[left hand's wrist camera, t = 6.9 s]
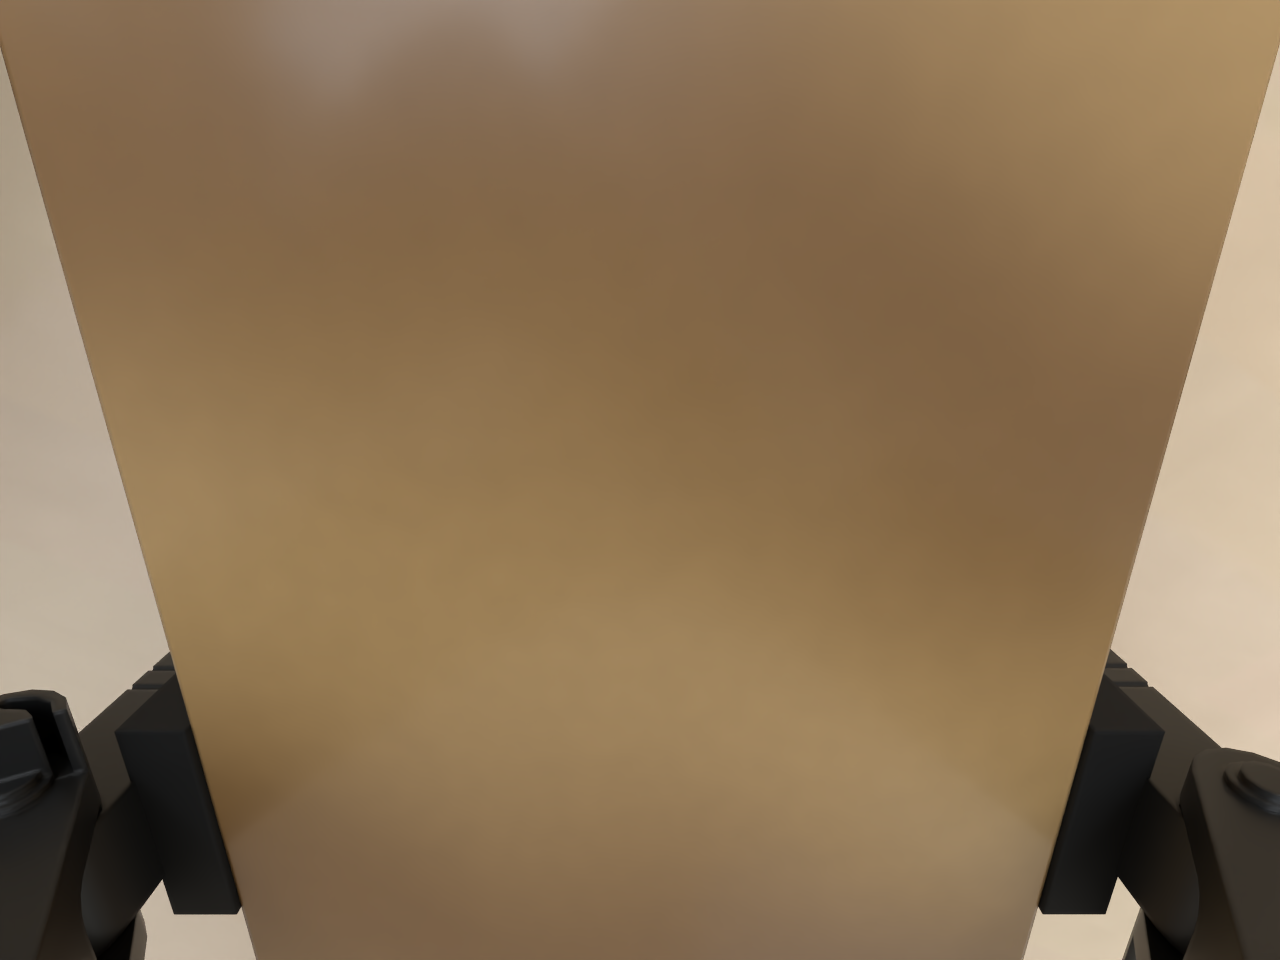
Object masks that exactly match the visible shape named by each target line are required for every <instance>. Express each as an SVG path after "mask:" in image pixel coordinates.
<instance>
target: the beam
mask: <svg viewBox="0 0 1280 960" xmlns="http://www.w3.org/2000/svg"><path fill="white" fill-rule="evenodd" d="M1279 44H1280V0H0V47H1V51H2V54H3V58H4V61H5V65H6V69H7V72H8V76H9V79H10V83H11V86H12V90H13V94H14V97H15V101H16V104H17V108H18V111H19V115H20V118H21V122H22V126H23V129H24V133H25V136H26V140H27V143H28V147H29V151H30V154H31V158H32V161H33V165H34V168H35V172H36V176H37V179H38V183H39V186H40V190H41V193H42V197H43V200H44V204H45V208H46V211H47V215H48V218H49V222H50V225H51V229H52V233H53V236H54V240H55V243H56V247H57V250H58V254H59V258H60V261H61V265H62V268H63V272H64V275H65V279H66V283H67V286H68V290H69V293H70V297H71V300H72V304H73V307H74V311H75V315H76V318H77V322H78V325H79V329H80V332H81V336H82V340H83V343H84V347H85V350H86V354H87V357H88V361H89V365H90V368H91V372H92V375H93V379H94V382H95V386H96V389H97V393H98V397H99V400H100V404H101V407H102V411H103V414H104V418H105V422H106V425H107V429H108V432H109V436H110V439H111V443H112V447H113V450H114V454H115V457H116V461H117V464H118V468H119V471H120V475H121V479H122V482H123V486H124V489H125V493H126V496H127V500H128V504H129V507H130V511H131V514H132V518H133V521H134V525H135V529H136V532H137V536H138V539H139V543H140V546H141V550H142V553H143V557H144V561H145V564H146V568H147V571H148V575H149V578H150V582H151V586H152V589H153V593H154V596H155V600H156V603H157V607H158V611H159V614H160V618H161V621H162V625H163V628H164V632H165V635H166V639H167V643H168V646H169V650H170V653H171V657H172V660H173V664H174V668H175V671H176V675H177V678H178V682H179V685H180V689H181V693H182V696H183V700H184V703H185V707H186V710H187V714H188V717H189V721H190V725H191V728H192V732H193V735H194V739H195V742H196V746H197V750H198V753H199V757H200V760H201V764H202V767H203V771H204V775H205V778H206V782H207V785H208V789H209V792H210V796H211V799H212V803H213V807H214V810H215V814H216V817H217V821H218V824H219V828H220V832H221V835H222V839H223V842H224V846H225V849H226V853H227V857H228V860H229V864H230V867H231V871H232V874H233V878H234V881H235V885H236V889H237V892H238V896H239V899H240V903H241V906H242V910H243V914H244V917H245V921H246V924H247V928H248V931H249V935H250V939H251V942H252V946H253V949H254V953H255V956H256V960H1023V958H1024V955H1025V951H1026V948H1027V944H1028V940H1029V937H1030V933H1031V930H1032V926H1033V923H1034V919H1035V915H1036V912H1037V908H1038V905H1039V901H1040V898H1041V894H1042V890H1043V887H1044V883H1045V880H1046V876H1047V873H1048V869H1049V865H1050V862H1051V858H1052V855H1053V851H1054V848H1055V844H1056V840H1057V837H1058V833H1059V830H1060V826H1061V823H1062V819H1063V815H1064V812H1065V808H1066V805H1067V801H1068V798H1069V794H1070V790H1071V787H1072V783H1073V780H1074V776H1075V773H1076V769H1077V765H1078V762H1079V758H1080V755H1081V751H1082V748H1083V744H1084V740H1085V737H1086V733H1087V730H1088V726H1089V723H1090V719H1091V715H1092V712H1093V708H1094V705H1095V701H1096V698H1097V694H1098V690H1099V687H1100V683H1101V680H1102V676H1103V673H1104V669H1105V665H1106V662H1107V658H1108V655H1109V651H1110V648H1111V644H1112V640H1113V637H1114V633H1115V630H1116V626H1117V623H1118V619H1119V615H1120V612H1121V608H1122V605H1123V601H1124V598H1125V594H1126V590H1127V587H1128V583H1129V580H1130V576H1131V573H1132V569H1133V565H1134V562H1135V558H1136V555H1137V551H1138V548H1139V544H1140V540H1141V537H1142V533H1143V530H1144V526H1145V523H1146V519H1147V515H1148V512H1149V508H1150V505H1151V501H1152V498H1153V494H1154V490H1155V487H1156V483H1157V480H1158V476H1159V473H1160V469H1161V465H1162V462H1163V458H1164V455H1165V451H1166V448H1167V444H1168V440H1169V437H1170V433H1171V430H1172V426H1173V423H1174V419H1175V415H1176V412H1177V408H1178V405H1179V401H1180V398H1181V394H1182V390H1183V387H1184V383H1185V380H1186V376H1187V373H1188V369H1189V365H1190V362H1191V358H1192V355H1193V351H1194V348H1195V344H1196V340H1197V337H1198V333H1199V330H1200V326H1201V323H1202V319H1203V315H1204V312H1205V308H1206V305H1207V301H1208V298H1209V294H1210V290H1211V287H1212V283H1213V280H1214V276H1215V273H1216V269H1217V265H1218V262H1219V258H1220V255H1221V251H1222V248H1223V244H1224V240H1225V237H1226V233H1227V230H1228V226H1229V223H1230V219H1231V215H1232V212H1233V208H1234V205H1235V201H1236V198H1237V194H1238V190H1239V187H1240V183H1241V180H1242V176H1243V173H1244V169H1245V165H1246V162H1247V158H1248V155H1249V151H1250V148H1251V144H1252V140H1253V137H1254V133H1255V130H1256V126H1257V123H1258V119H1259V115H1260V112H1261V108H1262V105H1263V101H1264V98H1265V94H1266V90H1267V87H1268V83H1269V80H1270V76H1271V73H1272V69H1273V65H1274V62H1275V58H1276V55H1277V51H1278V48H1279Z"/></svg>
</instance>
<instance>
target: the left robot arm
mask: <svg viewBox="0 0 1280 960" xmlns="http://www.w3.org/2000/svg"><path fill="white" fill-rule="evenodd" d="M1117 877H1119V879H1120V880H1121V881H1122V883H1123V884H1124V885H1125V887H1126V888H1127V889H1128V891H1129V892H1130V893H1131V895H1132V896H1133V898H1134V899H1135V900H1136V902H1137V903H1138V904H1139V906H1140V907H1141V908H1140V910H1139V913H1138V916H1137V919H1136V922H1135V925H1134V927H1133V930H1132V933H1131V936H1130V939H1129V942H1128V945H1127V947H1126V950H1125V953H1124V956H1123V959H1122V960H1280V762H1278V761H1275V760H1272V759H1269V758H1266V757H1264V756H1261V755H1258V754H1255V753H1252V752H1246V751H1241V750H1235V749H1230V748H1221V747H1220V746H1219V745H1218V744H1217V743H1215V742H1214V741H1213V740H1212V739H1211V738H1210V737H1209V736H1208V735H1206V734H1205V733H1204V732H1203V731H1202V730H1201V729H1200V728H1199V727H1197V726H1196V725H1195V724H1194V723H1193V722H1192V721H1191V720H1190V719H1188V718H1187V717H1186V716H1185V715H1184V714H1183V713H1182V712H1181V711H1179V710H1178V709H1177V708H1176V707H1175V706H1174V705H1173V704H1172V703H1170V702H1169V701H1168V700H1167V699H1166V698H1165V697H1164V696H1163V695H1161V694H1160V693H1159V692H1158V691H1157V690H1156V689H1155V688H1154V687H1148V684H1147V681H1146V680H1145V679H1143V678H1142V677H1141V676H1140V675H1139V674H1138V673H1137V672H1136V671H1134V670H1133V669H1132V668H1127V663H1125V662H1124V661H1123V660H1122V659H1121V658H1120V657H1119V656H1118V655H1116V654H1115V653H1114V652H1113V651H1112V650H1111V649H1110V651H1109V655H1108V658H1107V662H1106V665H1105V669H1104V673H1103V676H1102V680H1101V683H1100V687H1099V690H1098V694H1097V698H1096V701H1095V705H1094V708H1093V712H1092V715H1091V719H1090V723H1089V726H1088V730H1087V733H1086V737H1085V740H1084V744H1083V748H1082V751H1081V755H1080V758H1079V762H1078V765H1077V769H1076V773H1075V776H1074V780H1073V783H1072V787H1071V790H1070V794H1069V798H1068V801H1067V805H1066V808H1065V812H1064V815H1063V819H1062V823H1061V826H1060V830H1059V833H1058V837H1057V840H1056V844H1055V848H1054V851H1053V855H1052V858H1051V862H1050V865H1049V869H1048V873H1047V876H1046V880H1045V883H1044V887H1043V890H1042V894H1041V898H1040V901H1039V905H1038V907H1039V908H1040V910H1041V912H1042V914H1106V911H1107V908H1108V905H1109V902H1110V899H1111V896H1112V893H1113V890H1114V887H1115V883H1116V880H1117ZM162 879H163V882H164V885H165V888H166V891H167V894H168V897H169V900H170V904H171V907H172V910H173V913H174V914H237V913H238V911H239V910H240V908H241V903H240V899H239V896H238V892H237V889H236V885H235V881H234V878H233V874H232V871H231V867H230V864H229V860H228V857H227V853H226V849H225V846H224V842H223V839H222V835H221V832H220V828H219V824H218V821H217V817H216V814H215V810H214V807H213V803H212V799H211V796H210V792H209V789H208V785H207V782H206V778H205V775H204V771H203V767H202V764H201V760H200V757H199V753H198V750H197V746H196V742H195V739H194V735H193V732H192V728H191V725H190V721H189V717H188V714H187V710H186V707H185V703H184V700H183V696H182V693H181V689H180V685H179V682H178V678H177V675H176V671H175V668H174V664H173V660H172V657H171V653H170V652H169V653H168V654H167V655H165V656H164V657H163V658H162V659H161V660H160V661H159V662H158V663H157V664H155V665H154V666H153V671H148V672H146V673H145V674H144V675H143V676H142V677H141V678H140V679H139V680H138V681H136V682H135V683H134V684H133V688H132V690H126V691H125V692H124V693H123V694H122V695H121V696H120V697H119V698H117V699H116V700H115V701H114V702H113V703H112V704H111V705H110V706H108V707H107V708H106V709H105V710H104V711H103V712H102V713H101V714H100V715H98V716H97V717H96V718H95V719H94V720H93V721H92V722H91V723H89V724H88V725H87V726H86V727H85V728H84V729H83V730H82V731H80V732H79V733H78V731H77V728H76V725H75V722H74V720H73V717H72V714H71V711H70V708H69V705H68V703H67V700H66V697H64V696H62V695H60V694H58V693H57V692H55V691H48V690H27V691H21V692H14V693H8V694H3V695H0V960H144V957H145V949H146V942H147V933H146V927H145V922H144V919H143V916H142V913H141V910H140V909H141V908H142V906H143V905H144V903H145V902H146V901H147V899H148V898H149V897H150V895H151V894H152V893H153V891H154V890H155V889H156V887H157V886H158V884H159V883H160V882H161V880H162Z"/></svg>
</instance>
